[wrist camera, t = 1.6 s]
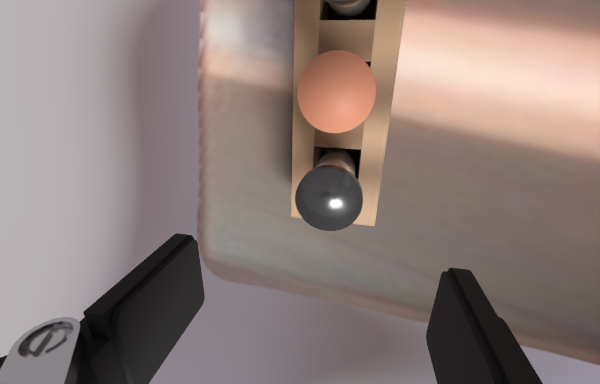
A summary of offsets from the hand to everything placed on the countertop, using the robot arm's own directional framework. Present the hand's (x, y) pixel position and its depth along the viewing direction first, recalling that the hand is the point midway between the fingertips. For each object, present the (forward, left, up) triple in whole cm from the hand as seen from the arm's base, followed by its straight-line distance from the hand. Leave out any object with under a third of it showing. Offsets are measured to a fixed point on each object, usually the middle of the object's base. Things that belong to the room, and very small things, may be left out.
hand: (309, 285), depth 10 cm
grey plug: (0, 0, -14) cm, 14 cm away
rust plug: (-6, 0, -14) cm, 15 cm away
